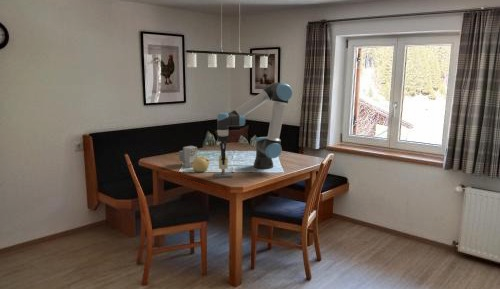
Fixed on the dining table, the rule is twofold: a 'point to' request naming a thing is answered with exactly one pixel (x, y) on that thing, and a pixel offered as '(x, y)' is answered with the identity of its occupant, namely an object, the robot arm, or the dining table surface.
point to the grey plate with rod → (223, 174)
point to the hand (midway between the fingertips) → (223, 167)
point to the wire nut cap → (225, 161)
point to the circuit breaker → (188, 156)
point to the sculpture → (200, 164)
